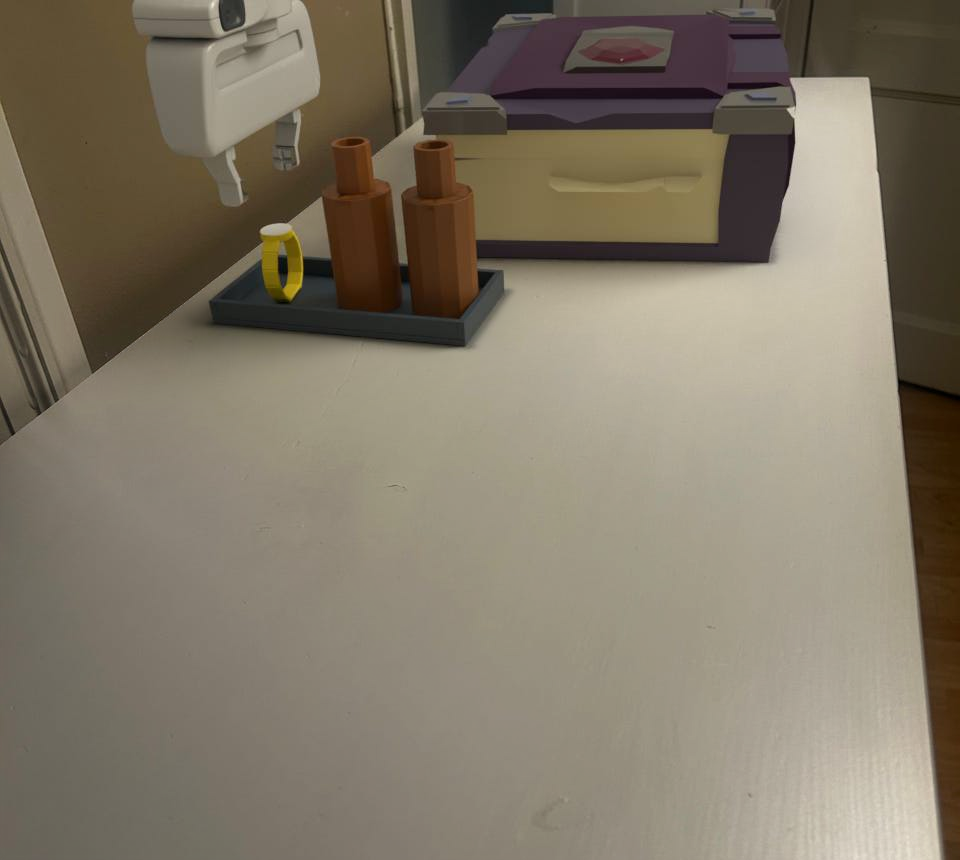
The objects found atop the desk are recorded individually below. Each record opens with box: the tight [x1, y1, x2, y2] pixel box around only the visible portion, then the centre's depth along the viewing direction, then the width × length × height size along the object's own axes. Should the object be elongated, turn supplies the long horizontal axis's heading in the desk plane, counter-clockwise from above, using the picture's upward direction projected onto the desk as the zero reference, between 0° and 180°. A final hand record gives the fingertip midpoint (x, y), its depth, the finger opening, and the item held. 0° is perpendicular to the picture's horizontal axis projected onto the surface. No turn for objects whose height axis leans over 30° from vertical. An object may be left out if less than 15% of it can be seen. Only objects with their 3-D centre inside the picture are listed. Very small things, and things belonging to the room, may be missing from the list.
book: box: [421, 7, 797, 263], centre depth 103 cm, size 33×45×14 cm
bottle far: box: [400, 139, 479, 319], centre depth 80 cm, size 6×6×14 cm
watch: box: [259, 222, 303, 302], centre depth 86 cm, size 6×3×6 cm, turn 168°
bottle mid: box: [320, 136, 403, 313], centre depth 81 cm, size 6×6×14 cm
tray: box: [208, 254, 505, 347], centre depth 86 cm, size 23×11×2 cm, turn 72°
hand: (262, 185), depth 81 cm, fingers open, 8 cm apart
